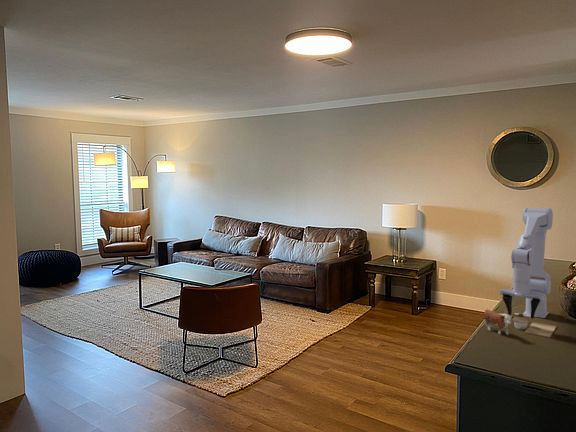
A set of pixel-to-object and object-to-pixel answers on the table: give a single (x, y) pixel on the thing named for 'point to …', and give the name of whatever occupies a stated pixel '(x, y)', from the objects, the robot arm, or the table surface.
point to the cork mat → (540, 329)
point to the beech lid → (521, 317)
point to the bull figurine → (497, 320)
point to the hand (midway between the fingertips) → (520, 316)
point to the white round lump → (520, 325)
